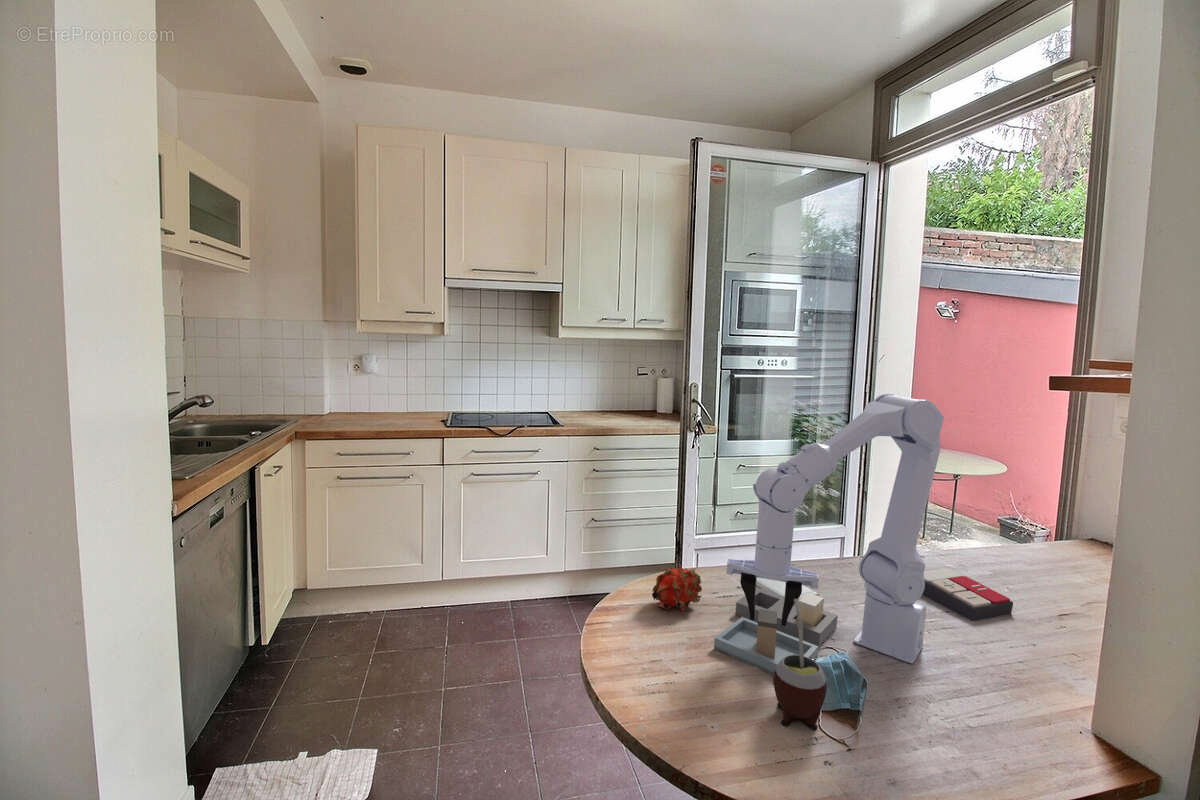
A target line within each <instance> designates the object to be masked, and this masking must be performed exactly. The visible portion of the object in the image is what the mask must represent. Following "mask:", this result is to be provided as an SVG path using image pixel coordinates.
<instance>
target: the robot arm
mask: <svg viewBox="0 0 1200 800" xmlns="http://www.w3.org/2000/svg"><path fill="white" fill-rule="evenodd" d="M944 419H945V416H944V415H943V413H942V412H941V411H940V410H939V408H938V406H937V405H936V404H935V403H933V401H930V400H928V399H917V398H911V397H906V396H901V395H895V394H893V393H882V394H880V395H878V396H876V397H875V399H873V400H872V401H870V402H867V403H866V404H865V407H864V410H862V411H861V413H860V414H859V415H857V416H856V417H855V418H854V419H852V420H851V421H850V422H848V423H847V425H845V426H844V427H843V428H841V429H840V430H839V431H838V432H836V433H835V434H834V435H833V436H831V437H830V438H829V439H828V440H826V441H825V442H824V443H818V442H812V443H811V444H808V443H806V444H804V445H802V446H801V447H800V449H801V451H799V452H798V453H796V454H794V455H793V456H792V457H790V458H789V459H788V460H786V461H782V462H780V463H778V465H777V468H772V469H771V468H768V469H765V470H764V471H763V472H761V473H760V474H759V476H758V477H757V479H756V482H755V483H753V484H752V488H753V493H754V495H755V496H756V497H757V499H758V500H757V501H758V513H757V522H756V523H757V527H756V539H755V540H756V541H755V550H754V551H755V552H754V553H755V555H754V559H753V560H749V559H732V558H729V559H727V563H726V571H725V572H726V574H727V575H733V574H736V575H740V581H739V583H740V587H741V589H742V591H743V594H744V596H746V599H747V603H748V607H749V613H750V620H754V617H755V591H756V588H757V585H756V580H757V577H759V578H765V579H770V580H776V581H782V582H786V587H785V600H784V606H783V611H782V623H781V626H786V622H787V619H788V616H789V614H790V611H791V609H792V607H793V606H794V604H795V603H794V599H797V600H798V598H799V597H800V595H801V593H802V585H804V586H805V587H807V586H808V587H810V588H811V589H815V590H818V589H819V578H820V577H819V576H820V575H819V573H818V572H813V571H809V570H805V569H802V568H798V567H795V566H791V564H792V552H793V539H794V528H795V527H794V525H795V517H796V509H797V508H800V507H801V505H802V504H803V502H804V499H805V496H806V495H807V494H808V493H809V490H811V489H813V488H814V487H815V486H816V485H818V484H819V483H821V482H822V481H824V480H825V479H826V478H828V477H829V476H831V475H832V474H833V473H835V472H836V470H837V465H838V461H839V460H841V459H842V458H844V457H846V456H847V455H849V454H851V453H852V452H853V451H856V450H857V449H858V448H861V447H862V446H863V445H865V444H867V443H868V442H870V441H872V440H873V439H874V438H877V437H890V438H892V440H893V441H894V443H895V444H896V445H897V447H898V448H899V449H900V450H901V454H900V459H899V462H898V466H897V471H896V475H895V479H894V482H893V487H892V491H891V496H890V499H889V503H888V507H887V511H886V515H885V519H884V522H883V527H882V530H881V535H880V537H879V538H876V539H873V540H871V541H870V542H869V543H868V547H867V550H866V552H865V553H864V555H863V556H862V558H861V559H860V561H859V565H858V572H859V576H860V577H861V578H862V580H863V581H864V585H863V586H864V588H865V597H864V598H865V599H864V608H863V609H864V610H863V618H862V625H861V626H862V627H861V630H860V632H859V633H858V634H857V635H856V637H855V638H854V639H853V642H854V644H857V645H860V646H862V647H865V648H868V649H871V650H873V651H876V652H879V653H881V654H884V655H886V656H887V655H888V656H890V657H892V658H895V659H897V660H899V661H904V662H906V663H908V664H914V662H915V661H916V659H917V657H918V655H919V653H920V651H921V650H922V648H923V647H924V635H925V634H924V633H925V625H926V624H925V623H926V616H927V609H926V608H927V607H926V606H925V605H923V604H920V603H918V602H917V601H918V600H919V599H920V598H921V597H922V596H923V595H922V594H923V591H924V588H925V581H924V571H925V568H926V564H925V562H924V560H923V558H922V556H921V554H920V553H919V551H918V549H917V543H918V539H919V536H920V535H919V534H920V532H921V528H922V524H923V523H922V522H923V521H924V520H923V519H924V515H925V513H926V512H925V511H926V508H927V504H928V499H929V496H930V492H931V488H932V484H933V480H934V476H935V473H936V467H937V464H938V460H939V457H940V452H941V435H940V434H941V431H942V427H943V423H944Z"/></svg>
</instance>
